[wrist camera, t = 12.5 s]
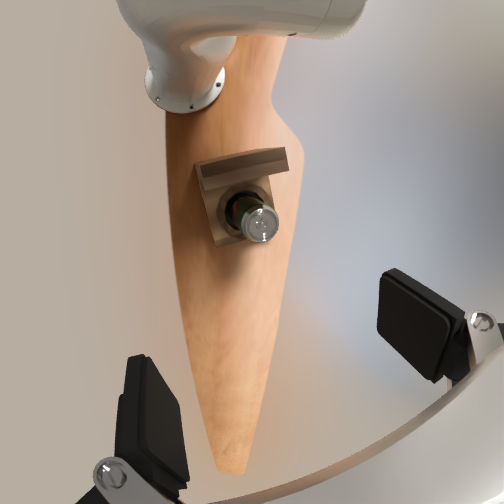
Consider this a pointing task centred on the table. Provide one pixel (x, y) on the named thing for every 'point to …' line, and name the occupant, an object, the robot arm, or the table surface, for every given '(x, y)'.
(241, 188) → the socket block
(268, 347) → the table surface
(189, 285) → the table surface
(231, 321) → the table surface
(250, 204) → the soda can
